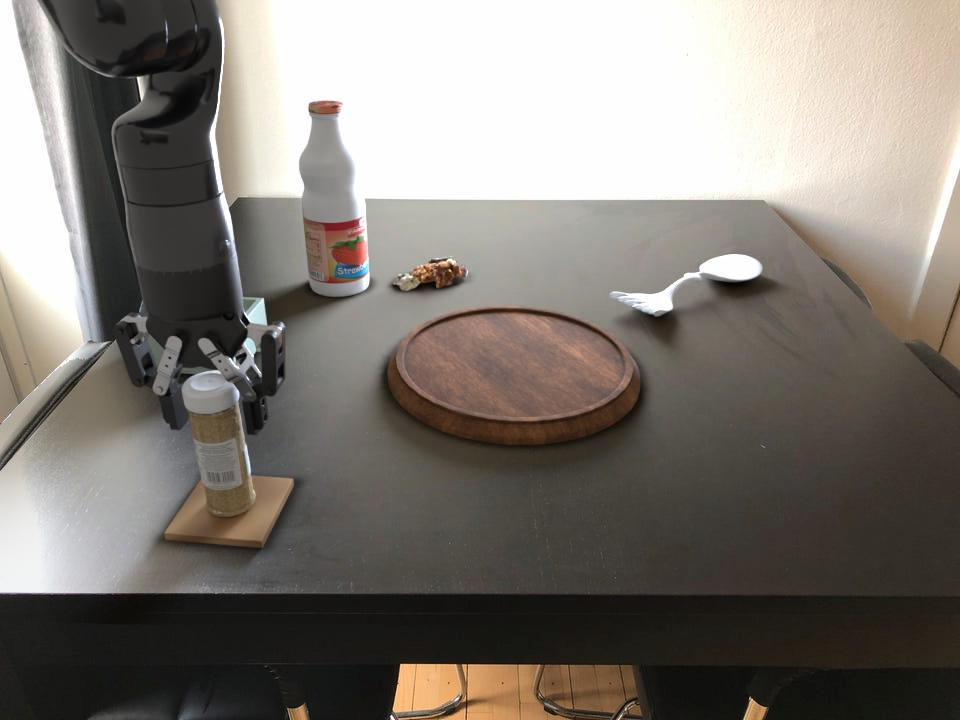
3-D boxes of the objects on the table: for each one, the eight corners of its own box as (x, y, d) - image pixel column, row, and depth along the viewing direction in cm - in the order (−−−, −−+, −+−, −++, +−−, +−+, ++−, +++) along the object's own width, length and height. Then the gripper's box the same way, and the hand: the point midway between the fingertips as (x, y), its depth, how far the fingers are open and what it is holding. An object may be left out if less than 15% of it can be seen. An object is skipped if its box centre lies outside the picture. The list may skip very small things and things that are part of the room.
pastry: (387, 283, 119) (386, 262, 118) (448, 266, 126) (448, 246, 124) (411, 297, 115) (411, 276, 113) (473, 280, 121) (473, 259, 119)
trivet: (165, 541, 67) (163, 533, 66) (207, 479, 75) (205, 471, 74) (262, 549, 66) (261, 541, 66) (294, 486, 74) (293, 478, 74)
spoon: (605, 311, 112) (607, 290, 110) (724, 262, 130) (727, 243, 129) (653, 332, 106) (657, 310, 104) (770, 278, 124) (775, 258, 123)
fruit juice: (329, 271, 123) (314, 95, 110) (380, 280, 120) (371, 100, 107) (298, 292, 115) (277, 105, 102) (351, 302, 112) (337, 111, 99)
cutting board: (472, 480, 75) (472, 460, 74) (347, 351, 99) (345, 334, 98) (694, 396, 90) (698, 378, 89) (540, 301, 114) (541, 286, 113)
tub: (147, 372, 93) (137, 331, 90) (187, 331, 103) (180, 292, 100) (236, 378, 92) (230, 337, 89) (268, 336, 102) (263, 297, 99)
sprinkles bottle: (264, 491, 72) (245, 371, 65) (242, 523, 68) (220, 398, 61) (220, 485, 72) (197, 365, 66) (196, 515, 68) (169, 392, 62)
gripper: (290, 238, 60) (309, 410, 68) (121, 229, 61) (160, 400, 70) (257, 273, 54) (282, 459, 62) (69, 262, 55) (118, 446, 63)
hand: (217, 427), depth 66 cm, fingers open, 6 cm apart
